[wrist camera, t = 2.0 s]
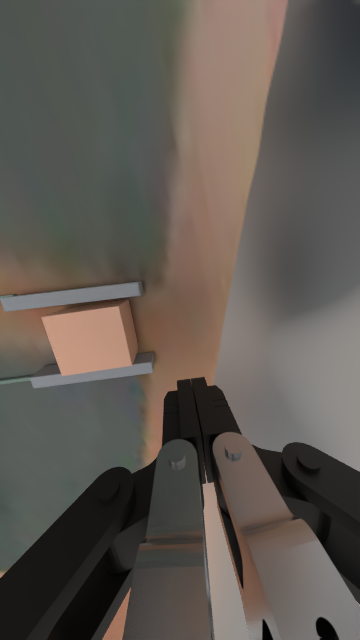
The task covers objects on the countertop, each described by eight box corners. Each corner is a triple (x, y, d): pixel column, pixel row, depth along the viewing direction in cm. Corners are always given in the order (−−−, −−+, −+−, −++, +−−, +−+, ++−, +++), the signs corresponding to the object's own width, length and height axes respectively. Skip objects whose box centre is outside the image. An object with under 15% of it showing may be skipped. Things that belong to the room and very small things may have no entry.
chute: (21, 294, 22) (-1, 298, 20) (141, 280, 23) (137, 282, 20) (49, 375, 25) (33, 388, 23) (154, 361, 26) (153, 372, 23)
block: (67, 307, 23) (41, 317, 19) (128, 299, 24) (118, 306, 19) (82, 356, 25) (61, 376, 20) (139, 347, 25) (132, 365, 21)
